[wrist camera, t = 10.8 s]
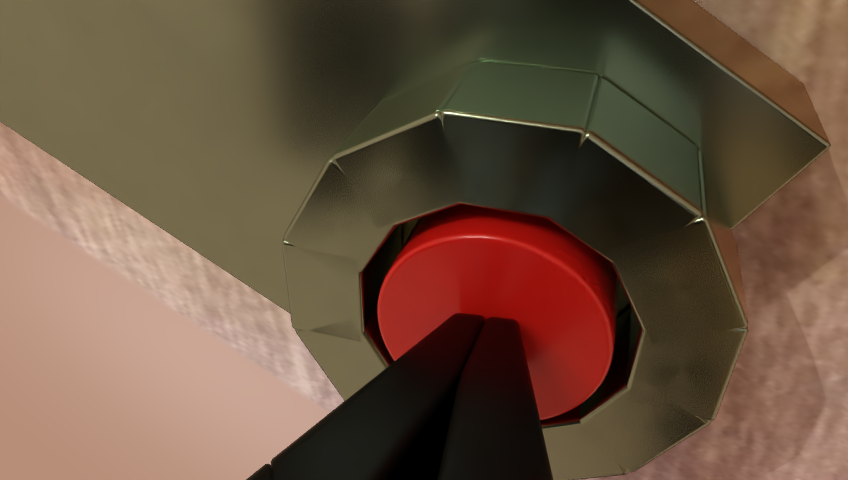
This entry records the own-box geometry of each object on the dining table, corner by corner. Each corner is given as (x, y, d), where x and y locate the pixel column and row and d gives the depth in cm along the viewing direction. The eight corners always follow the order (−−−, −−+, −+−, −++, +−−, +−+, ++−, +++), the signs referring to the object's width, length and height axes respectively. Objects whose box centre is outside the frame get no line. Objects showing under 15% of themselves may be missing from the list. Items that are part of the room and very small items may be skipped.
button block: (-236, -135, 13) (-516, -110, 10) (-294, -739, 9) (-852, -1044, 5) (541, 390, 15) (507, 554, 12) (860, 124, 10) (946, 279, 7)
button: (379, 269, 11) (338, 337, 10) (484, 127, 9) (452, 188, 8) (535, 375, 12) (517, 456, 10) (670, 259, 10) (670, 339, 8)
